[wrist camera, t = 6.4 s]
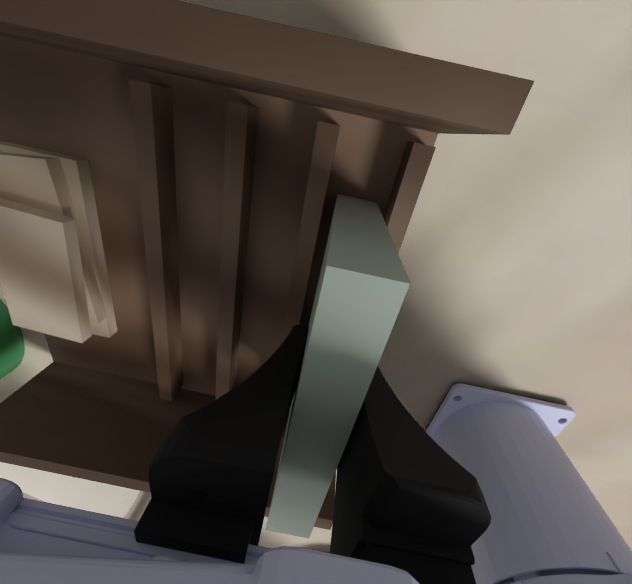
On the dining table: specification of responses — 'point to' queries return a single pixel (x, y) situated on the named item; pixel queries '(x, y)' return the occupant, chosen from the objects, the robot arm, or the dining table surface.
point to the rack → (208, 198)
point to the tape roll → (9, 343)
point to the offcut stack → (52, 245)
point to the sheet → (337, 358)
